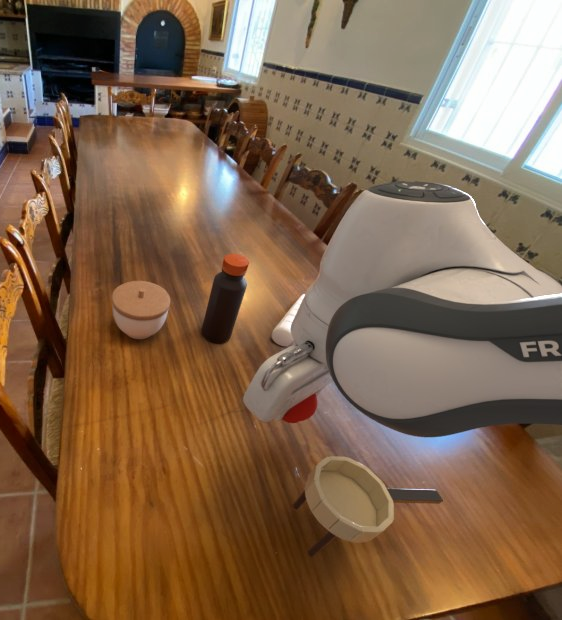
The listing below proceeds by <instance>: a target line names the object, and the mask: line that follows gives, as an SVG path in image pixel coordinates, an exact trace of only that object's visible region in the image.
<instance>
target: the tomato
mask: <svg viewBox="0 0 562 620" xmlns="http://www.w3.org/2000/svg"><path fill="white" fill-rule="evenodd" d="M317 409H318V396H316V394H315V393H314V394H312V395H311V396H309V397H308V398H306V399H304V400H303V401H301V402H300V403H298V404H296V405H295V406H293V407H292V408H290V410H289V412H288V413H287V416H285V417H284V418H282V419H281V420H282V421H284V422H285V423H288V424H297V423H299V422H304V421H307V420H308V419H310V418H311V417H312V416H314V414H315V413H316V411H317Z"/></svg>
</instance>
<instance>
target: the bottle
mask: <svg viewBox="0 0 562 620" xmlns="http://www.w3.org/2000/svg"><path fill="white" fill-rule="evenodd" d="M249 265H250V261H249V259H248V258H247V257H246V256H244V255H242V254H238V253H228V254H226V255H224V256H223V260H222V264H221V271H219V272H218V273H216V274H215V275H214V278H213V281H212V285H211V286H212V287H211V288H210V293H209V298H208V300H207V301H208V302H207V306H206V310H205V314H204V318H203V322H202V327H201V334H202V336H203V337H204V338H205V339H206V340H207V341H209V342H211V343H214V344H225V343H227V342H228V341H229V340H230V339H231V337H232V335H233V331H234V328H235V325H236V321H237V319H238V316H239V313H240V309H241V306H242V302H243V300H244V296H245V293H246V290H247V287H248V282H247V280H246V278H245V276H246V274H247V271H248V268H249Z"/></svg>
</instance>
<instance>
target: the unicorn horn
mask: <svg viewBox="0 0 562 620" xmlns="http://www.w3.org/2000/svg"><path fill="white" fill-rule="evenodd" d="M305 294H306V293H303V294H301V295H300V296H299V298H297V300H296V301H295V302H294V304H293V305H292V306H291V307H290V309H288V311H287V312H286V313H285V315H283V318H281V320H280V321H279V322H278V323H277V324H276V326H275V327H274V329H273V330H272V333H271V339H272V341H273V342H274V343H275V344H277V345H278V346H281V347H289V346H291V345H293V343H294V342H295V341H294V339H293V337H292V335H291V324H292V322H293V319H294V317H295V315H296V313H297V311H298V309H299V306H300V304H301V302H302V300H303V298H304V296H305Z"/></svg>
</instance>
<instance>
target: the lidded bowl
mask: <svg viewBox="0 0 562 620" xmlns="http://www.w3.org/2000/svg"><path fill="white" fill-rule="evenodd" d="M111 304H112V305H111V307H112V316H113V319H114V322H115V324H116V326H117V327H118V329H119V330H120V331H121V332H122V333H123V334H125V335H126V336H128V337H129V338H131V339H135V340H145V339H147V338H149V337H151V336H153V335H155V334H156V333H158V332H159V331H160V330H161V329H162V327H163V326H164V324H165V322H166V320H167V317H168V313H169V309H170V306H171V297H170V294H169V293H168V291H167V290H166V289H165V288H163V286H160V285H158V284H156V283H153V282H151V281H146V280H132V281H127V282H124V283H121V284H120V285H118V286H117V287H116V288H115V289H114V290H113V292H112V294H111Z"/></svg>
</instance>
